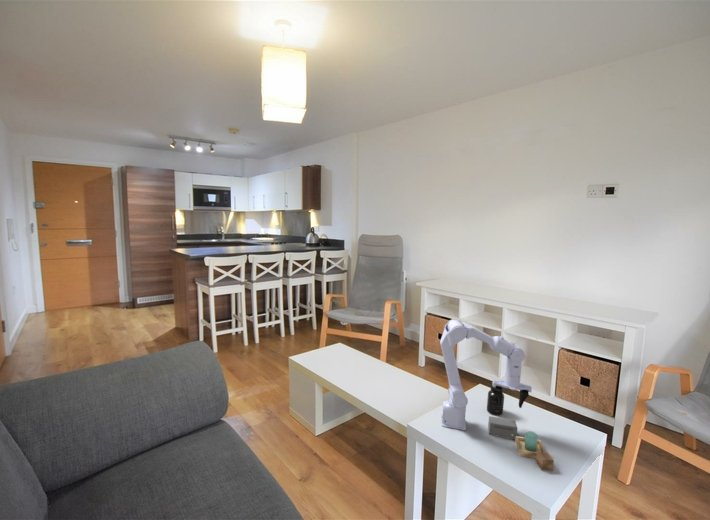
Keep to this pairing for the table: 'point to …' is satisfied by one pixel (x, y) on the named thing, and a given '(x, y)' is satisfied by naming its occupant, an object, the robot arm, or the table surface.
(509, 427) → the gray block
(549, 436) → the table surface
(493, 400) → the supplement bottle
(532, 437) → the teal peg
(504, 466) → the table surface
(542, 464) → the walnut block
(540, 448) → the birch tray
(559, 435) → the table surface
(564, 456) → the table surface
